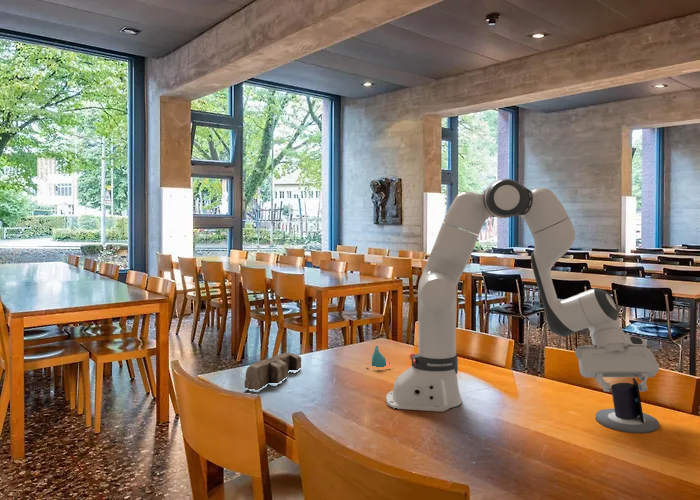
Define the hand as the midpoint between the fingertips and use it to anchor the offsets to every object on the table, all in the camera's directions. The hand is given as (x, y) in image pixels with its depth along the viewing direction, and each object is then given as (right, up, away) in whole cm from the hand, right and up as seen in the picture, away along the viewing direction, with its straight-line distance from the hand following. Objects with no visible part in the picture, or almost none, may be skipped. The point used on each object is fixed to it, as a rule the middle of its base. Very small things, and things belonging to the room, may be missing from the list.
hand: (625, 390), depth 148 cm
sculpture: (-99, -8, +44) cm, 108 cm away
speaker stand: (0, -8, 0) cm, 8 cm away
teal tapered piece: (-60, -6, +60) cm, 85 cm away
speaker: (0, -7, 0) cm, 8 cm away
